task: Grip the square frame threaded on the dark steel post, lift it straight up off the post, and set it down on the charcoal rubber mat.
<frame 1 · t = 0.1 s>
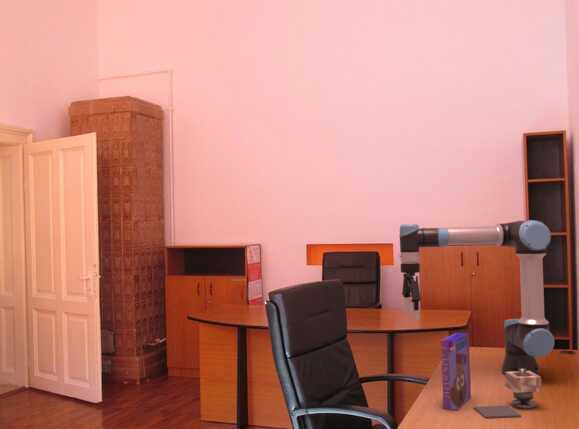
hand: (411, 316, 242), 28 cm above the table, fingers open, 13 cm apart
cereal box: (457, 404, 217), on the table
square frame: (523, 388, 212), point 6 cm above the table, touching steel stand
steel stand: (523, 405, 212), on the table
rubber mat: (496, 412, 206), on the table
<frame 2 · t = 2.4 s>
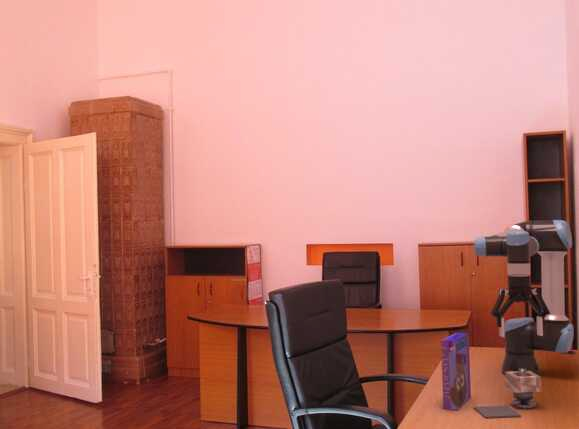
hand: (521, 335, 213), 24 cm above the table, fingers open, 13 cm apart
nothing on the table moved.
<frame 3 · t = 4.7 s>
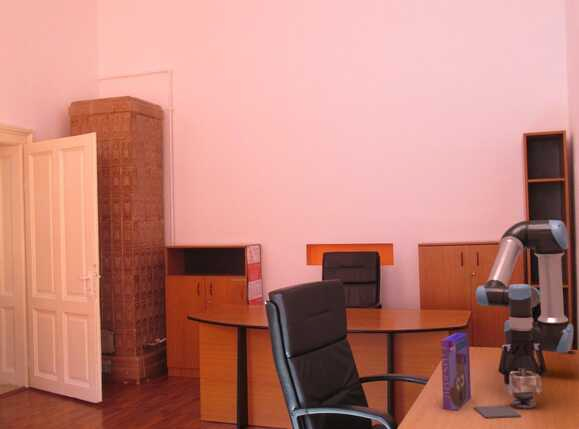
hand: (523, 393, 212), 4 cm above the table, fingers closed on square frame, 9 cm apart
square frame: (523, 388, 212), point 6 cm above the table, touching gripper, steel stand
everything else where it was.
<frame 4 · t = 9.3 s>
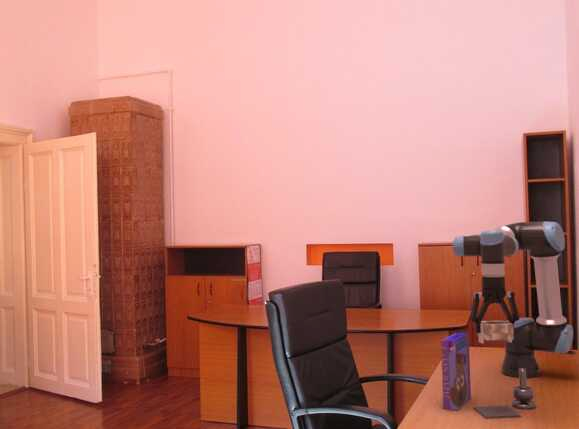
hand: (495, 342, 206), 24 cm above the table, fingers closed on square frame, 9 cm apart
square frame: (495, 337, 206), point 25 cm above the table, touching gripper
everything else where it was.
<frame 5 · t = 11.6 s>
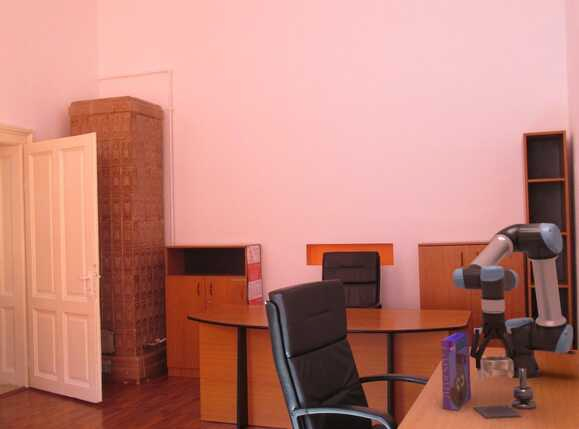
hand: (495, 377, 206), 12 cm above the table, fingers closed on square frame, 9 cm apart
square frame: (495, 373, 206), point 13 cm above the table, touching gripper
everything else where it was.
when the fingers open (3 cm above the table, at t = 13.8 s): square frame drops 4 cm, resting on rubber mat.
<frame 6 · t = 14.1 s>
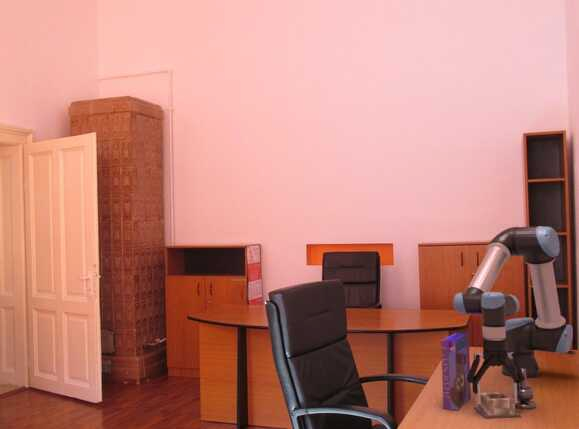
hand: (496, 402, 206), 4 cm above the table, fingers open, 12 cm apart
square frame: (496, 410, 206), point 1 cm above the table, touching rubber mat
everything else where it was.
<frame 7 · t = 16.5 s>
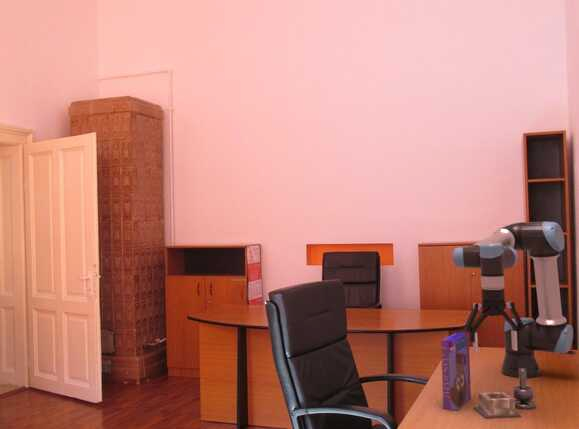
hand: (495, 350, 207), 21 cm above the table, fingers open, 13 cm apart
nothing on the table moved.
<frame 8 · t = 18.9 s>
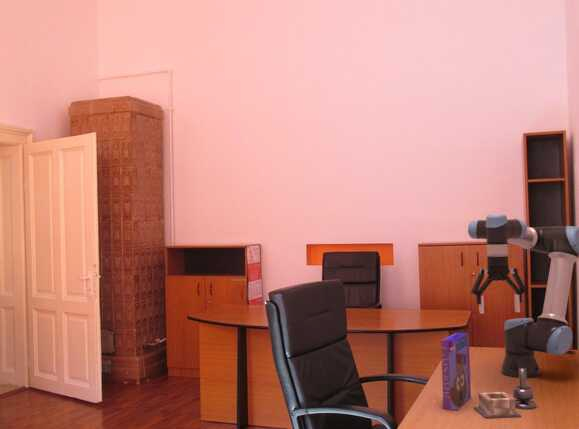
hand: (499, 312, 227), 31 cm above the table, fingers open, 13 cm apart
nothing on the table moved.
at the end: square frame inside the target area on the rubber mat (0.0 cm from its centre), point 0.6 cm above the rubber mat's base; square frame tilted 0°; the gripper is holding nothing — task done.
